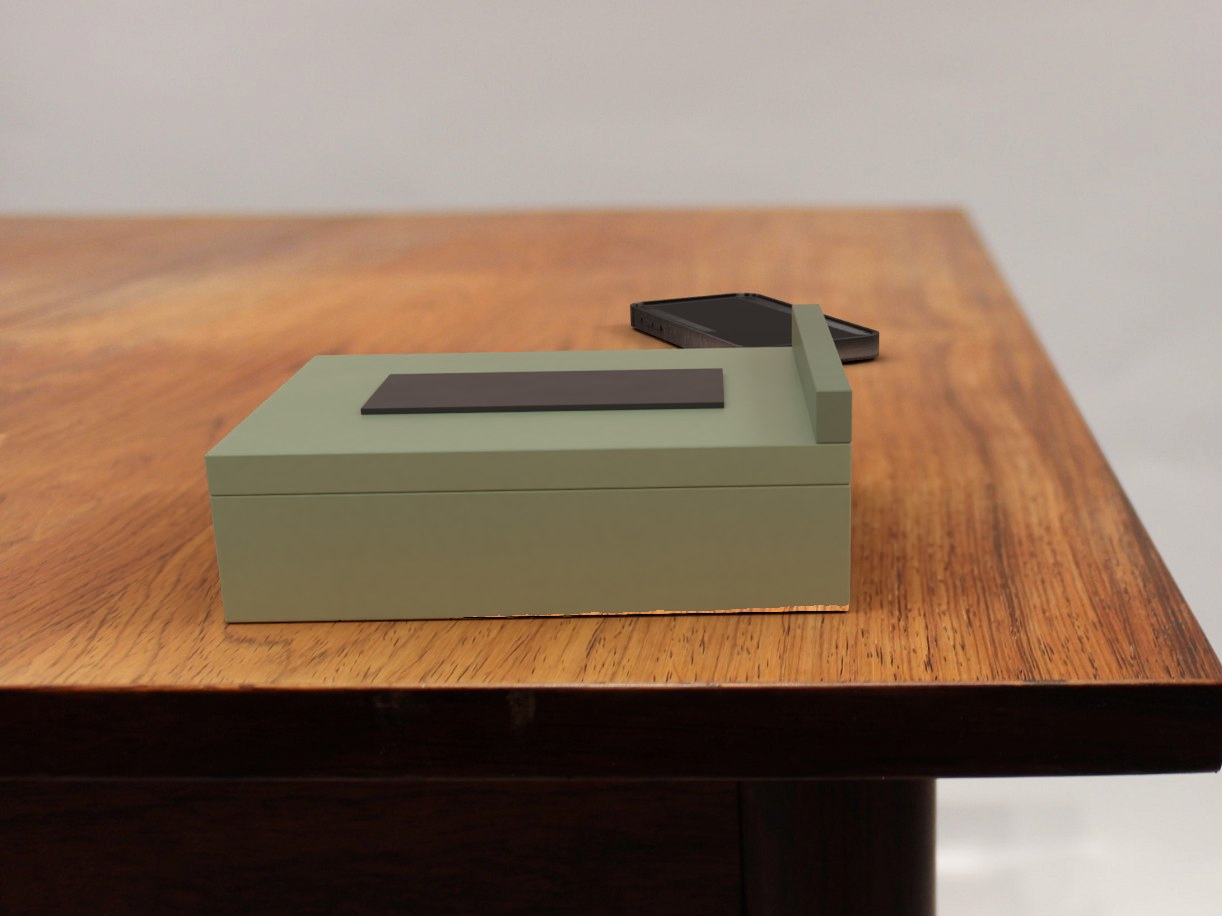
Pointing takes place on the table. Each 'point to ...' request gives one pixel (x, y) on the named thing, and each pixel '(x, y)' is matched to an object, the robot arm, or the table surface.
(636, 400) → the green box
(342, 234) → the table surface
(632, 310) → the phone
